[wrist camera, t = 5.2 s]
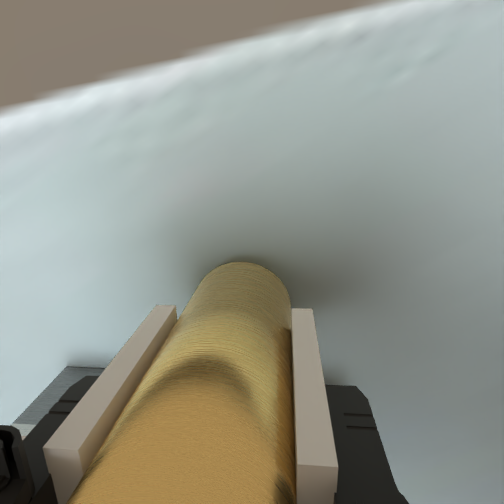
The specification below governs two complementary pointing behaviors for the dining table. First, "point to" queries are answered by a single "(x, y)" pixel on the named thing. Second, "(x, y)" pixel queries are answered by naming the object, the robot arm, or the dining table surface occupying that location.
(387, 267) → the dining table surface
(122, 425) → the brass cylinder peg
